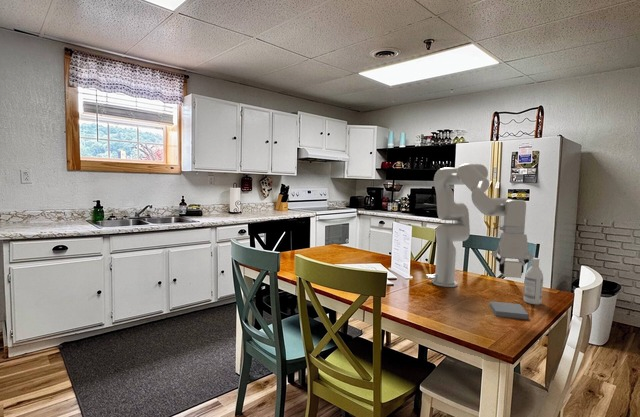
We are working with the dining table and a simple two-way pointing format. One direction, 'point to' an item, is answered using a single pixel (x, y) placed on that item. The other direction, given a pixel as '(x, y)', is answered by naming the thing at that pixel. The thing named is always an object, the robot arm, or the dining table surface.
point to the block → (512, 268)
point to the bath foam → (533, 283)
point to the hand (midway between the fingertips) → (510, 273)
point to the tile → (508, 310)
